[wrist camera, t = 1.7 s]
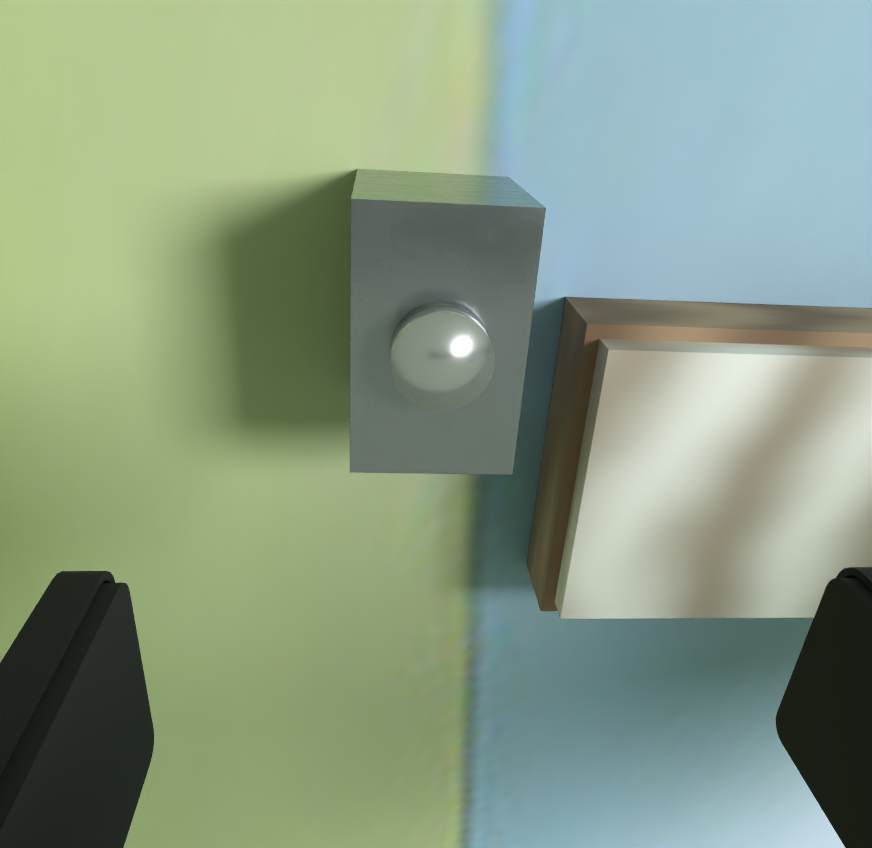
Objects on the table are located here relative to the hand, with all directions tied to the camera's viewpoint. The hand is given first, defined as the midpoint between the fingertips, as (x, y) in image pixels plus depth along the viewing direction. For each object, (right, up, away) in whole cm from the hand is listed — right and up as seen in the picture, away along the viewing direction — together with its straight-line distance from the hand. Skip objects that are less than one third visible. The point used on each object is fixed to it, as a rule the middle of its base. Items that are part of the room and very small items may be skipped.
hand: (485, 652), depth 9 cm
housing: (-1, +8, +16) cm, 17 cm away
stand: (+11, +2, +19) cm, 22 cm away
